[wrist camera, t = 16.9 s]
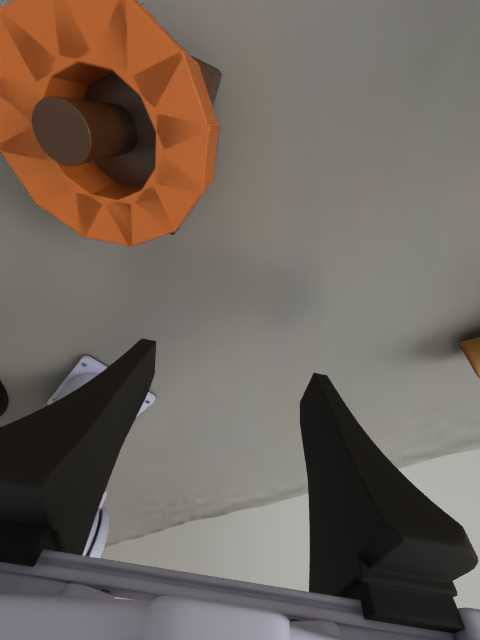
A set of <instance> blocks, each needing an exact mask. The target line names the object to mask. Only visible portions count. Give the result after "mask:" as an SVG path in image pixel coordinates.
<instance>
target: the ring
mask: <svg viewBox="0 0 480 640" xmlns="http://www.w3.org/2000/svg"><path fill="white" fill-rule="evenodd" d="M111 73H114V74H117V75H118V76H119V77H120V78H121V79H122V80H123V81H124V82H125V83H126V84H127V85H128V86H129V87H130V88H132V89H133V90H134V91H135V92H136V93H137V94H138V95H139V96H140V97H141V99H142V101H143V104H144V106H145V108H146V111H147V113H148V115H149V118H150V120H151V122H152V125H153V127H154V129H155V132H156V151H155V168H154V170H153V171H152V173H151V175H150V176H149V178H148V180H147V181H146V183H145V185H144V186H143V187H141V188H139V187H134V186H129V185H125V184H120V183H117V182H115V181H114V180H113V179H112V178H110V177H109V176H108V175H107V174H105V173H104V172H103V171H102V170H101V169H99V168H98V167H97V166H96V165H95V163H94V162H90V163H85V164H81V165H77V166H67V165H63V164H60V163H58V162H56V161H55V160H53V159H52V158H51V157H49V156H48V155H47V154H46V153H45V152H44V150H43V149H42V148H41V146H40V145H39V143H38V142H37V140H36V137H35V135H34V132H33V128H32V112H33V109H34V107H35V105H36V104H37V103H38V102H39V101H40V100H41V99H43V98H45V97H49V96H55V97H64V98H72V99H81V100H83V99H84V97H85V94H86V92H87V90H88V87H89V85H90V84H92V83H94V82H96V81H98V80H100V79H101V78H103V77H105V76H107V75H109V74H111ZM219 125H220V124H219V123H218V122H217V119H216V116H215V112H214V109H213V106H212V103H211V100H210V97H209V94H208V91H207V88H206V85H205V82H204V79H203V76H202V73H201V68H200V66H199V64H198V62H197V61H195V60H194V59H193V58H192V57H191V56H190V55H189V54H188V53H187V52H186V51H185V50H184V49H183V48H182V47H181V46H180V45H179V44H178V43H177V42H176V41H175V40H174V39H173V38H172V37H171V36H170V35H169V33H168V32H167V31H166V30H165V29H164V28H163V27H162V26H161V25H160V24H159V23H158V22H157V21H156V19H155V17H153V16H152V15H151V14H150V13H149V12H148V11H147V10H146V9H145V8H144V7H143V6H142V5H141V4H139V3H138V2H137V1H136V0H13V1H12V2H10V3H9V4H7V5H6V6H4V7H3V8H2V7H0V152H1V153H2V154H3V156H4V157H5V159H6V160H7V162H8V163H9V165H10V166H11V168H12V169H13V171H14V172H15V173H16V175H17V176H18V178H19V179H20V181H21V182H22V184H23V185H24V187H25V188H26V190H27V191H28V192H29V194H30V195H31V197H32V198H33V200H34V202H35V203H36V204H37V206H41V207H42V208H43V209H45V210H46V211H48V212H49V213H50V214H52V215H53V216H55V217H56V218H57V219H59V220H60V221H62V222H63V223H64V224H66V225H67V226H69V227H70V228H71V229H73V230H74V231H76V232H77V233H78V234H80V236H83V237H84V238H92V239H97V240H102V241H107V242H112V243H117V244H122V245H127V246H128V247H131V246H132V247H134V246H135V245H137V244H139V243H142V242H145V241H148V240H151V239H154V238H156V237H159V236H162V235H165V234H168V233H172V232H174V231H176V229H177V228H178V227H179V226H180V225H181V223H182V222H183V221H184V220H185V219H186V217H187V216H188V215H189V212H190V211H191V209H192V208H193V207H194V205H195V204H196V203H197V201H198V200H199V198H200V197H201V196H202V194H203V193H204V192H205V191H206V189H207V188H208V187H209V186H210V185H211V184H212V182H213V179H214V178H213V175H214V166H215V158H216V150H217V142H218V133H219V130H220V128H219Z"/></svg>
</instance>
